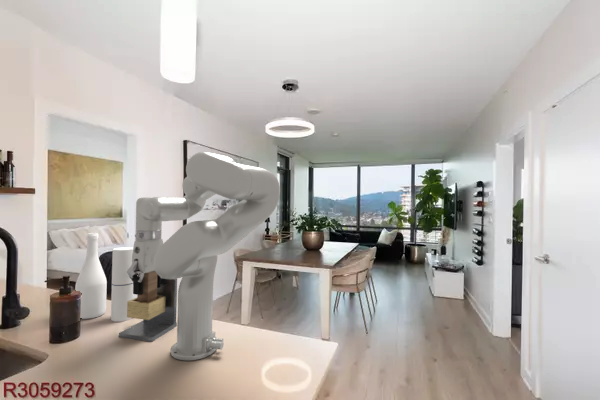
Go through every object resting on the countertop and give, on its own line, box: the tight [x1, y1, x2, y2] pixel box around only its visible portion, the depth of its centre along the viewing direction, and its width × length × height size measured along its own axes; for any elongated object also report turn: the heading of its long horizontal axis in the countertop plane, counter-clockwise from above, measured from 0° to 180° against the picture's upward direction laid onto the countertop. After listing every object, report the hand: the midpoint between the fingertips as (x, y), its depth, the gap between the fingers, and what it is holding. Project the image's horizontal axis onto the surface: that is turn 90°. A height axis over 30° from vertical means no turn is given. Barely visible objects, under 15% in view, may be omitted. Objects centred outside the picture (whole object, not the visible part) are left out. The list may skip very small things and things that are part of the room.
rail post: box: [136, 270, 157, 303], centre depth 97 cm, size 4×4×14 cm
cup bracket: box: [118, 278, 178, 343], centre depth 98 cm, size 12×12×16 cm
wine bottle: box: [74, 232, 108, 320], centre depth 111 cm, size 10×10×30 cm
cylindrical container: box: [110, 246, 135, 323], centre depth 109 cm, size 7×7×25 cm
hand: (147, 290), depth 97 cm, fingers open, 7 cm apart
